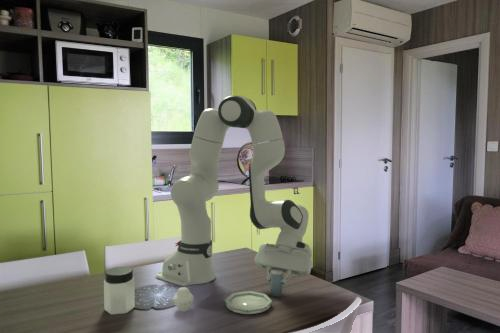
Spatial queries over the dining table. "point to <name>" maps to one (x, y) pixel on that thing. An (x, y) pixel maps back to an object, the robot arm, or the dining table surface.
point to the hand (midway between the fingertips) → (275, 282)
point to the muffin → (183, 299)
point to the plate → (248, 302)
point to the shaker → (276, 283)
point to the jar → (119, 290)
